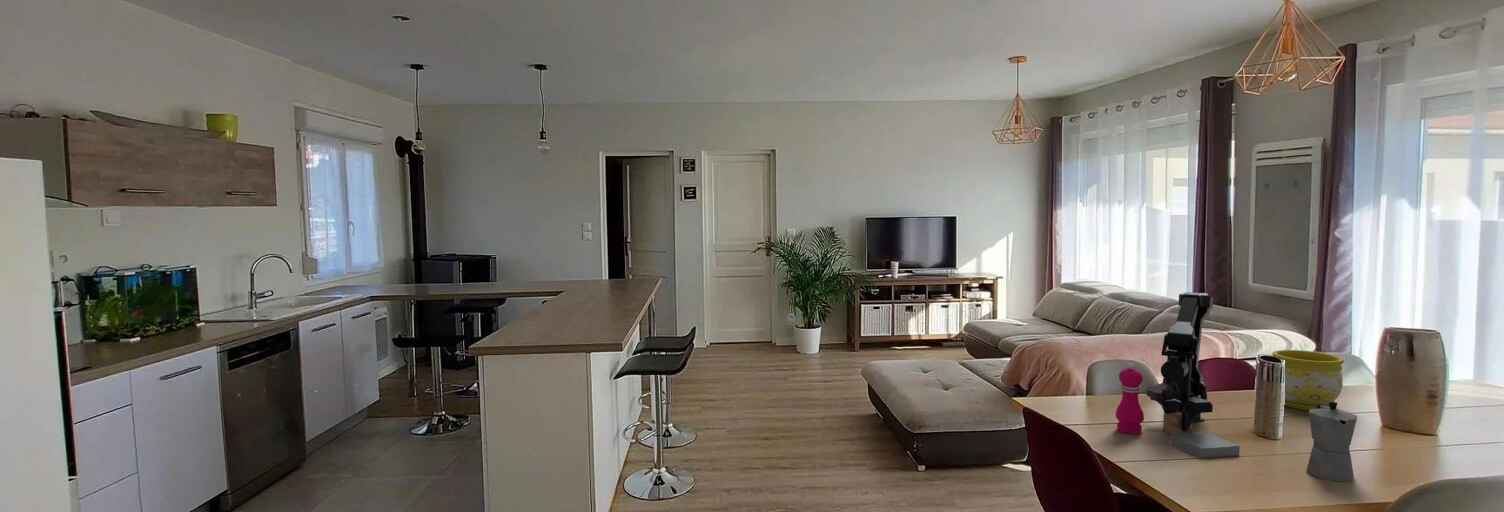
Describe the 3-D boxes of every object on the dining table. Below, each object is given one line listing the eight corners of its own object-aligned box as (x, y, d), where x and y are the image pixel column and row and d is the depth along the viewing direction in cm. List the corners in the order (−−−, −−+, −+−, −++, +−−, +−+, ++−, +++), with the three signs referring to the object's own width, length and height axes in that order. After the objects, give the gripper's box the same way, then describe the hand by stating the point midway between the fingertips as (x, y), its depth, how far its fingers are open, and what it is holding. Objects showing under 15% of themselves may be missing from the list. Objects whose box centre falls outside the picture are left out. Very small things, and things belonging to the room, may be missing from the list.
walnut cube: (1178, 428, 203) (1178, 412, 203) (1191, 434, 199) (1192, 417, 198) (1163, 429, 203) (1163, 413, 202) (1176, 435, 198) (1176, 418, 197)
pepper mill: (1141, 427, 203) (1143, 360, 201) (1145, 436, 197) (1147, 367, 194) (1114, 424, 206) (1115, 359, 204) (1116, 433, 200) (1118, 366, 197)
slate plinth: (1205, 441, 192) (1205, 432, 192) (1239, 455, 182) (1239, 445, 181) (1169, 443, 191) (1170, 434, 191) (1201, 458, 180) (1202, 448, 180)
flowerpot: (1357, 413, 216) (1359, 361, 214) (1298, 414, 216) (1300, 361, 215) (1311, 397, 234) (1313, 349, 232) (1256, 398, 234) (1259, 349, 233)
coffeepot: (1366, 488, 160) (1370, 411, 159) (1316, 482, 164) (1319, 407, 162) (1338, 464, 174) (1342, 394, 173) (1292, 460, 178) (1296, 390, 177)
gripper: (1131, 368, 207) (1129, 420, 208) (1179, 384, 189) (1177, 440, 190) (1164, 366, 209) (1162, 417, 210) (1215, 382, 191) (1213, 438, 192)
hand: (1177, 428), depth 201 cm, fingers open, 5 cm apart
